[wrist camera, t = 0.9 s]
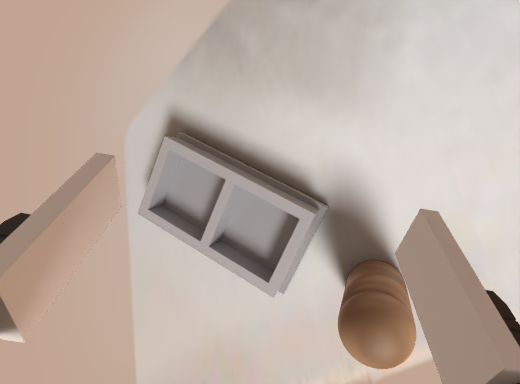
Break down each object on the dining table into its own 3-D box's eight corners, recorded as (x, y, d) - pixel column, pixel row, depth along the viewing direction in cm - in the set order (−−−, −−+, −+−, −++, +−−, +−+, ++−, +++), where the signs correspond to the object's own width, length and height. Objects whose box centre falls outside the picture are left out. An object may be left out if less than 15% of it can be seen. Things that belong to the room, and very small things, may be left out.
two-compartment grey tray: (328, 206, 30) (322, 211, 27) (285, 290, 33) (276, 305, 29) (182, 132, 35) (162, 129, 32) (154, 210, 37) (132, 215, 34)
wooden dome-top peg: (384, 250, 29) (388, 293, 20) (418, 299, 28) (439, 369, 19) (335, 276, 31) (318, 327, 21) (367, 323, 30) (363, 397, 21)
